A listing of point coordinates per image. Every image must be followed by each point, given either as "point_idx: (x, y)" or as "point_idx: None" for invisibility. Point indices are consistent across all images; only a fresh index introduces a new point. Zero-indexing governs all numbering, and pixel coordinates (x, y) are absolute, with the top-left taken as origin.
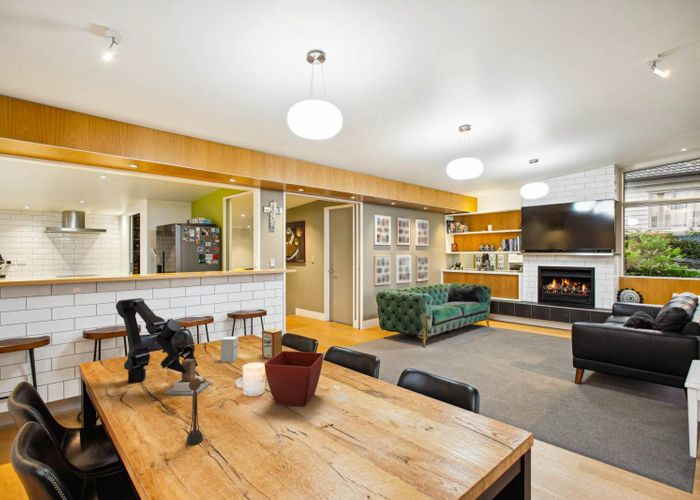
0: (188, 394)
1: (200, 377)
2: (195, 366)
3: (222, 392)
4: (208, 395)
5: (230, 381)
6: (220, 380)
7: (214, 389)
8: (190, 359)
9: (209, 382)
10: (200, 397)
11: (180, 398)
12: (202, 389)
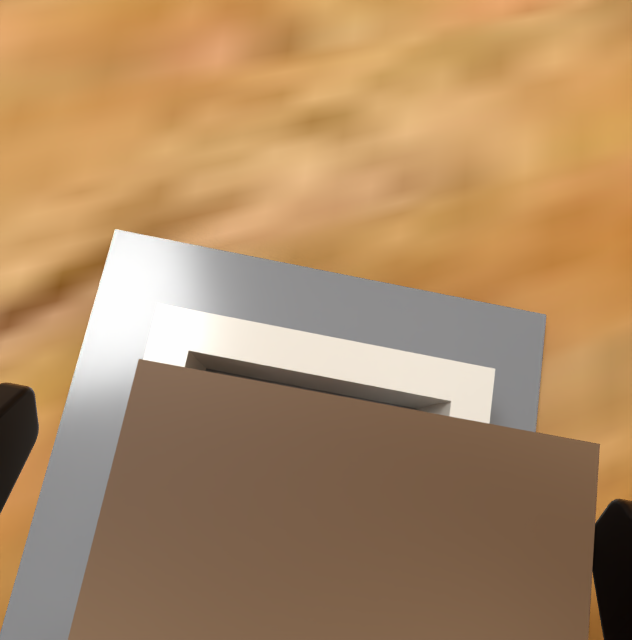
0: (533, 411)
1: (204, 327)
2: (30, 450)
3: (451, 44)
4: (533, 171)
5: (91, 18)
6: (21, 144)
7: (350, 148)
8: (202, 610)
9: (130, 250)
10: (589, 244)
11: (620, 482)
12: (369, 281)
